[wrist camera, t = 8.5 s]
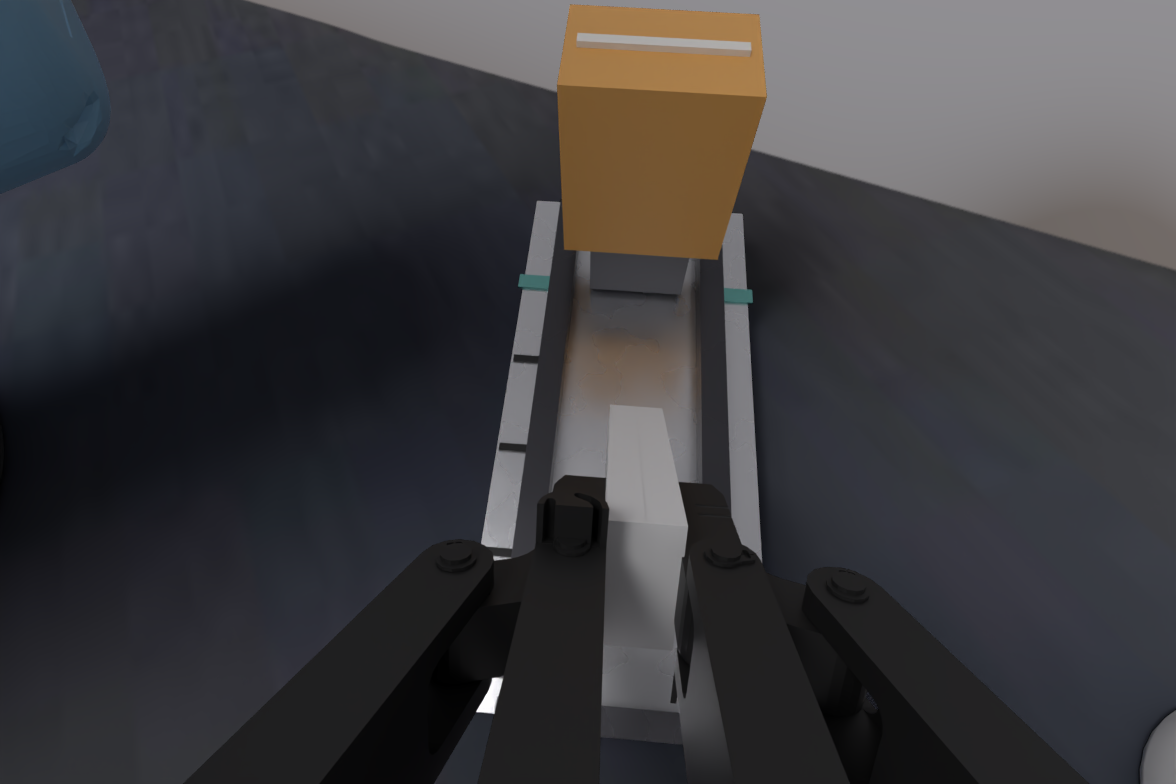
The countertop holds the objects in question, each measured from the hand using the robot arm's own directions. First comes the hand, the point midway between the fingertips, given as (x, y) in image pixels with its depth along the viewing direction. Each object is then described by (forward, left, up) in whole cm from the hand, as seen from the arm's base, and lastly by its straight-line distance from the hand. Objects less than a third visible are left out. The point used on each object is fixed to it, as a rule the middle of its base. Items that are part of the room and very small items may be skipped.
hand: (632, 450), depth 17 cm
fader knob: (-4, +10, -5) cm, 12 cm away
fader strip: (-1, +4, -7) cm, 8 cm away
